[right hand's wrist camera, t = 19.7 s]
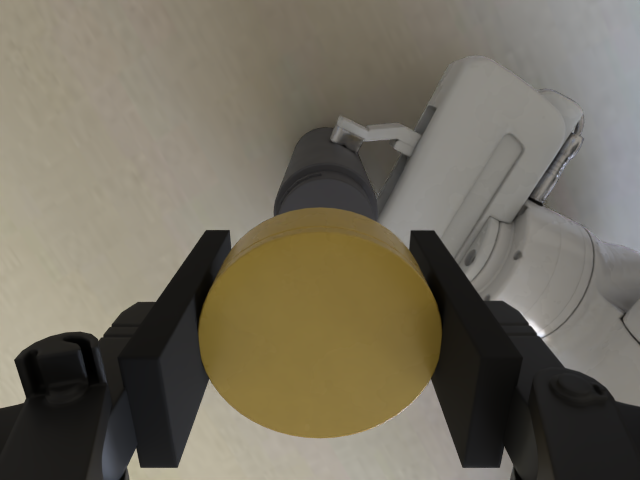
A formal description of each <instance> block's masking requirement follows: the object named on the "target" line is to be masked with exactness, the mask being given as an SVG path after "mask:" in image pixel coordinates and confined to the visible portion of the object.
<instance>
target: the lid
mask: <svg viewBox="0 0 640 480" xmlns="http://www.w3.org/2000/svg"><path fill="white" fill-rule="evenodd" d="M198 338H199V347H200V354H201V360H202V363H203V366H204V368H205V371H206V373H207V375H208V377H209V379H210V381H211V382H212V384H213V385H214V387H215V388H216V390H217V391H218V392H219V394H220V395H221V396H222V397H223V398H224V399H225V400H226V401H227V402H228V403H229V404H230V405H231V406H232V407H233V408H234V409H236V410H237V411H238V412H239V413H241V414H242V415H244V416H245V417H247V418H248V419H250V420H251V421H253V422H255V423H257V424H259V425H261V426H263V427H266V428H269V429H271V430H274V431H277V432H280V433H284V434H288V435H292V436H299V437H306V438H334V437H341V436H348V435H352V434H356V433H360V432H363V431H366V430H369V429H371V428H374V427H377V426H379V425H381V424H383V423H385V422H387V421H389V420H390V419H392V418H393V417H395V416H396V415H398V414H399V413H401V412H402V411H403V410H404V409H406V408H407V407H408V406H409V405H411V404H412V402H413V401H414V400H415V399H416V398H417V397H418V396H419V395H420V394H421V393H422V391H423V390H424V388H425V387H426V386H427V384H428V383H429V381H430V379H431V377H432V375H433V373H434V371H435V369H436V366H437V363H438V361H439V356H440V348H441V340H442V323H441V316H440V313H439V309H438V305H437V303H436V301H435V298H434V296H433V294H432V292H431V290H430V288H429V286H428V284H427V282H426V280H425V278H424V276H423V274H422V272H421V270H420V268H419V266H418V264H417V262H416V260H415V258H414V257H413V255H412V254H411V252H410V250H409V249H408V248H407V247H406V246H405V244H404V243H403V242H402V241H401V240H400V239H399V238H398V237H397V236H396V235H395V234H393V233H392V232H391V231H390V230H389V229H387V228H386V227H384V226H383V225H381V224H380V223H378V222H376V221H374V220H372V219H370V218H368V217H366V216H363V215H360V214H357V213H354V212H351V211H346V210H341V209H336V208H321V207H319V208H304V209H299V210H294V211H289V212H286V213H283V214H280V215H277V216H275V217H272V218H270V219H268V220H266V221H264V222H262V223H261V224H259V225H258V226H256V227H255V228H253V229H251V230H250V231H249V232H248V233H247V234H246V235H244V236H243V237H242V238H241V239H240V240H239V241H238V242H237V243H236V245H235V246H234V247H233V248H232V249H231V251H230V252H229V254H228V255H227V257H226V258H225V260H224V262H223V264H222V266H221V268H220V270H219V272H218V274H217V276H216V278H215V280H214V282H213V284H212V286H211V288H210V290H209V292H208V295H207V297H206V299H205V301H204V303H203V306H202V310H201V314H200V317H199V325H198Z"/></svg>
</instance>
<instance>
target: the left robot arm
mask: <svg viewBox="0 0 640 480" xmlns="http://www.w3.org/2000/svg"><path fill="white" fill-rule="evenodd" d="M575 126H576V127H575ZM583 127H584V115H583V110H582V108H581V107H580V106H579V105H578V104H577V103H576V102H575V101H573V100H572V99H570V98H568V97H566V96H564V95H562V94H561V93H559V92H557V91H555V90H551V89H540V90H536V89H534V88H533V87H532V86H531V85H529V84H528V83H527V82H525V81H524V80H523V79H521V78H520V77H519V76H517V75H516V74H514V73H513V72H511V71H510V70H508V69H507V68H505V67H504V66H502V65H500V64H499V63H497V62H495V61H494V60H492V59H490V58H488V57H484V56H469V57H465V58H462V59H459V60H456V61H454V62H452V63H450V64H449V65H448V67H447V68H446V70H445V72H444V74H443V76H442V78H441V80H440V81H439V83H438V85H437V87H436V89H435V91H434V93H433V95H432V97H431V98H430V100H429V102H428V104H427V106H426V108H425V110H424V112H423V113H422V115H421V117H420V119H419V121H418V123H417V125H416V127H415V129H414V130H413V129H410V128H408V127H406V126H404V125H402V124H400V123H387V124H377V125H367V126H366V127H364V126H362V125H360V124H358V123H356V122H354V121H352V120H350V119H348V118H346V117H343V116H339V118H338V120H337V123H336V125H335V127H334V129H333V131H332V134H331V136H330V140H331V141H332V142H334V143H336V144H338V145H345V146H346V148H347V149H349V150H350V151H353V152H355V153H357V152H358V150H359V149H360V147H361V145H362V143H363V141H364V142H365V141H378V140H389V144H390V145H391V146H392V147H393V148H394V149H395V150H397V151H399V152H401V155H400V157H399V159H398V161H397V162H396V164H395V166H394V168H393V170H392V172H391V174H390V176H389V178H388V179H387V181H386V183H385V185H384V187H383V189H382V191H381V193H380V194H379V196H378V198H377V204H378V220H377V222H378V223H380V224H381V225H383V226H384V227H386V228H387V229H389V230H390V231H391V232H392V233H393V234H395V235H396V236H397V237H398V238H399V239H400V240H401V241H402V242H403V243H404V244H405V246H406V247H407V248H408V249H409V244H410V232H411V230H434V231H435V232H436V234H437V235H438V236H439V238H440V239H441V241H442V242H443V244H444V245H445V246H446V248H447V249H448V251H449V252H450V254H451V255H452V256H453V258H454V259H455V261H456V262H457V264H458V265H459V266H460V268H461V269H462V271H463V272H464V274H465V275H466V276H467V278H468V279H469V281H470V282H471V284H472V285H473V287H474V288H475V289H476V291H477V292H478V294H479V295H480V297H481V298H482V299H483V301H504V302H505V303H507V304H509V305H510V306H512V307H513V308H515V309H516V310H518V311H519V312H520V313H521V314H522V315H523V317H524V318H525V319H526V320H527V322H528V323H529V326H532V328H533V329H534V330H535V331H536V333H537V336H540V338H541V339H542V340H543V341H544V342H545V344H546V345H547V346H548V347H549V349H550V350H551V351H552V352H553V353H554V355H555V356H556V357H557V358H558V360H559V361H560V362H561V363H562V365H563V366H564V367H565V368H568V369H571V370H575V371H579V372H581V373H583V374H586V375H588V376H590V377H592V378H594V379H595V380H597V381H598V382H599V383H601V384H602V385H603V386H605V387H606V388H607V389H608V391H609V392H610V393H611V395H612V396H613V397H614V399H615V401H618V402H622V403H625V404H630V405H635V406H640V253H638V252H636V251H634V250H632V249H630V248H628V247H625V246H621V245H617V244H610V243H604V242H602V241H600V240H599V239H597V237H596V236H595V235H594V234H593V233H592V232H591V231H589V230H588V229H587V228H585V227H584V226H582V225H581V224H579V223H577V222H575V221H573V220H571V219H569V218H567V217H565V216H563V215H561V214H559V213H557V212H555V211H552V210H550V209H548V208H546V207H544V206H543V205H542V204H543V202H544V201H545V199H546V198H547V197H548V195H549V194H550V192H551V191H552V189H553V188H554V186H555V185H556V183H557V181H558V180H559V177H560V176H561V173H562V172H563V169H564V168H565V167H566V165H567V164H568V162H569V161H570V160H571V159H573V158H574V156H575V155H576V154H577V152H578V151H579V149H580V147H581V145H582V143H583V140H584V138H583V137H581V136H580V135H581V133H582V131H583ZM574 128H575V131H574V133H572V131H573V129H574Z"/></svg>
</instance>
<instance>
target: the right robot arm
mask: <svg viewBox="0 0 640 480" xmlns="http://www.w3.org/2000/svg"><path fill="white" fill-rule="evenodd" d="M409 250H410V252H411V254H412V255H413V257H414V258H415V260H416V262H417V264H418V266H419V268H420V270H421V272H422V274H423V276H424V278H425V280H426V282H427V284H428V286H429V288H430V290H431V292H432V294H433V296H434V298H435V301H436V303H437V305H438V309H439V313H440V316H441V323H442V340H441V348H440V356H439V361H438V363H437V366H436V369H435V371H434V373H433V375H432V377H431V380H432V383H433V386H434V388H435V391H436V394H437V397H438V400H439V402H440V405H441V408H442V411H443V414H444V417H445V419H446V422H447V425H448V428H449V431H450V433H451V436H452V439H453V442H454V445H455V447H456V450H457V453H458V456H459V459H460V462H461V464H462V467H463V468H500V464H501V459H502V455H503V450H504V446H505V448H506V450H507V452H508V455H509V457H510V459H511V461H512V463H513V469H512V474H511V478H510V480H640V406H635V405H630V404H625V403H622V402H618V401H615V399H614V397H613V396H612V395H611V393H610V392H609V391H608V389H607V388H606V387H605V386H603V385H602V384H601V383H599V382H598V381H597V380H595V379H594V378H592V377H590V376H588V375H586V374H583V373H581V372H579V371H575V370H571V369H568V368H565V367H564V366H563V365H562V363H561V362H560V361H559V360H558V358H557V357H556V356H555V355H554V353H553V352H552V351H551V350H550V349H549V347H548V346H547V345H546V344H545V342H544V341H543V340H542V339H541V338H540V336H537V333H536V331H535V330H534V329H533V328H532V326H529V323H528V322H527V320H526V319H525V318H524V317H523V315H522V314H521V313H520V312H519V311H518V310H516V309H515V308H513V307H512V306H510V305H509V304H507V303H505V302H504V301H483V299H482V298H481V297H480V295H479V294H478V292H477V291H476V289H475V288H474V287H473V285H472V284H471V282H470V281H469V279H468V278H467V276H466V275H465V274H464V272H463V271H462V269H461V268H460V266H459V265H458V264H457V262H456V261H455V259H454V258H453V256H452V255H451V254H450V252H449V251H448V249H447V248H446V246H445V245H444V244H443V242H442V241H441V239H440V238H439V236H438V235H437V234H436V232H435V231H434V230H411V232H410V244H409ZM230 251H231V241H230V230H206V231H205V232H204V234H203V235H202V237H201V238H200V240H199V241H198V243H197V244H196V245H195V247H194V248H193V250H192V251H191V253H190V254H189V255H188V257H187V258H186V260H185V261H184V263H183V264H182V265H181V267H180V268H179V270H178V271H177V273H176V274H175V275H174V277H173V278H172V280H171V281H170V283H169V284H168V285H167V287H166V288H165V290H164V291H163V293H162V294H161V296H160V297H159V298H158V300H157V301H156V302H137V303H136V304H134V305H133V306H131V307H129V308H128V309H126V310H125V311H123V312H122V313H121V314H120V315H119V316H118V318H117V319H116V320H115V321H114V323H113V324H112V327H109V329H108V330H107V331H106V332H105V334H104V336H103V338H101V339H100V340H99V341H98V339H97V338H96V337H95V336H93V335H92V334H89V333H84V332H67V333H62V334H58V335H54V336H50V337H47V338H45V339H43V340H40V341H38V342H35V343H34V344H32V345H31V346H29V347H27V348H26V349H24V350H23V351H22V352H21V353H20V354H19V355H18V356H17V357H16V359H15V360H14V361H15V364H16V367H17V370H18V373H19V377H20V380H21V383H22V386H23V389H24V392H25V395H26V400H25V402H24V403H22V404H18V405H14V406H10V407H5V408H0V480H129V474H128V470H127V466H128V464H129V461H130V459H131V457H132V455H133V453H134V451H135V449H137V453H138V458H139V463H140V467H141V468H178V465H179V462H180V459H181V457H182V454H183V451H184V448H185V445H186V443H187V440H188V437H189V434H190V431H191V429H192V426H193V423H194V420H195V417H196V414H197V412H198V409H199V406H200V403H201V400H202V398H203V395H204V392H205V389H206V386H207V384H208V381H209V377H208V375H207V373H206V371H205V368H204V366H203V363H202V360H201V354H200V347H199V338H198V325H199V317H200V314H201V310H202V306H203V303H204V301H205V299H206V297H207V295H208V292H209V290H210V288H211V286H212V284H213V282H214V280H215V278H216V276H217V274H218V272H219V270H220V268H221V266H222V264H223V262H224V260H225V258H226V257H227V255H228V254H229V252H230Z"/></svg>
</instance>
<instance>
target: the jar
mask: <svg viewBox="0 0 640 480" xmlns="http://www.w3.org/2000/svg"><path fill="white" fill-rule="evenodd" d="M332 131H333V128H318V129H314V130H312V131H310V132H308V133H307V134H305V135H304V136H303V137H302V138H301V139H300V140H299V142H298V143H297V145H296V147H295V150H294V152H293V155H292V157H291V160H290V163H289V165H288V168H287V170H286V173H285V176H284V178H283V181H282V183H281V186H280V189H279V191H278V194H277V197H276V200H275V205H274V217H275V216H277V215H280V214H283V213H286V212H289V211H294V210H299V209H304V208H319V207H321V208H336V209H341V210H346V211H351V212H354V213H357V214H360V215H363V216H366V217H368V218H370V219H372V220H374V221H376V222H377V220H378V204H377V200H376V196H375V194H374V191H373V189H372V187H371V184H370V182H369V179H368V177H367V174H366V172H365V170H364V167H363V165H362V162H361V160H360V157H359V155H358V152H357V153H355V152H353V151H350V150H349V149H347V148H346V146H345V145H338V144H336V143H334V142H332V141H331V140H330V136H331V134H332Z"/></svg>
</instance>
